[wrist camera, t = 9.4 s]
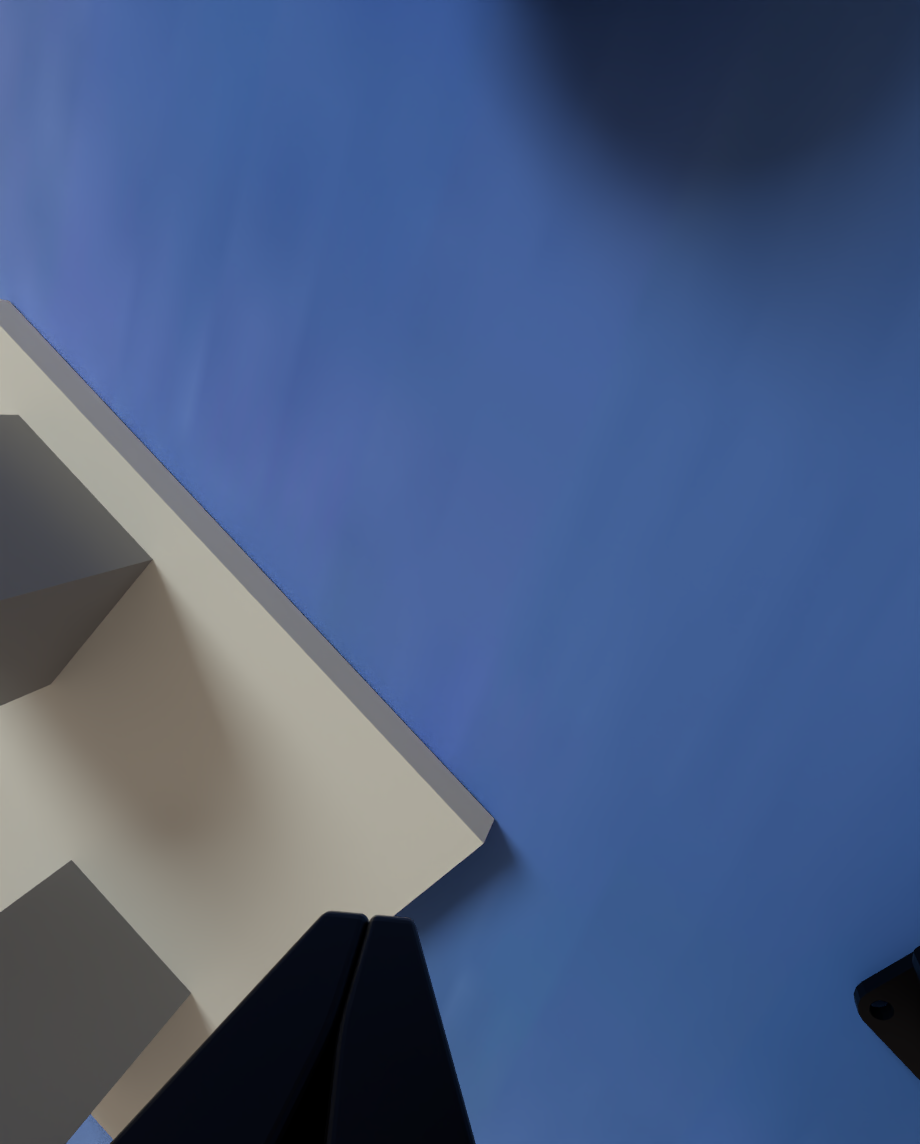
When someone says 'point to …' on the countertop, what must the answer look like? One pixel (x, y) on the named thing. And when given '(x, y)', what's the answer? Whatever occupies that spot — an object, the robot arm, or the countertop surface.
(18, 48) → the countertop surface
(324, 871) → the grey button stand
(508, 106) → the countertop surface
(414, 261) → the countertop surface
